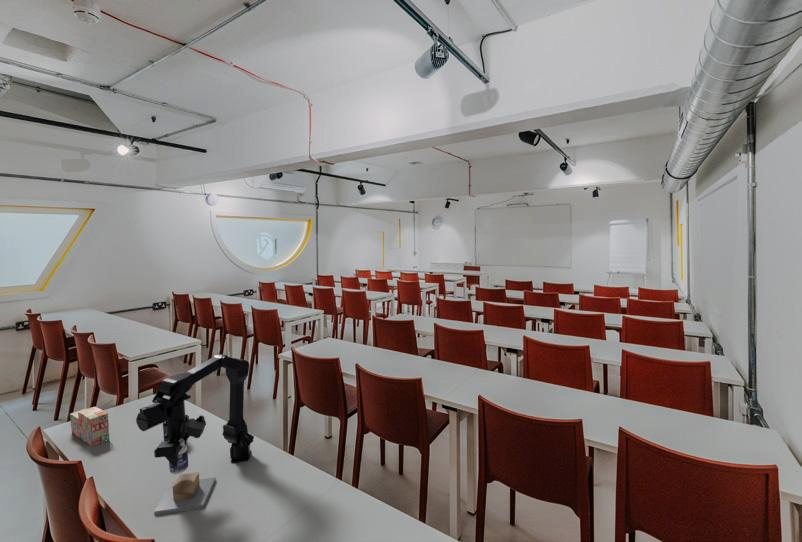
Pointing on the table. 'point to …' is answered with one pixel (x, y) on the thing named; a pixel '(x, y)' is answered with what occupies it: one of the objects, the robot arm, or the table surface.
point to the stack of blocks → (90, 425)
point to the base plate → (185, 504)
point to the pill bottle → (180, 460)
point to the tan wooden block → (186, 486)
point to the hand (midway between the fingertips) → (178, 460)
